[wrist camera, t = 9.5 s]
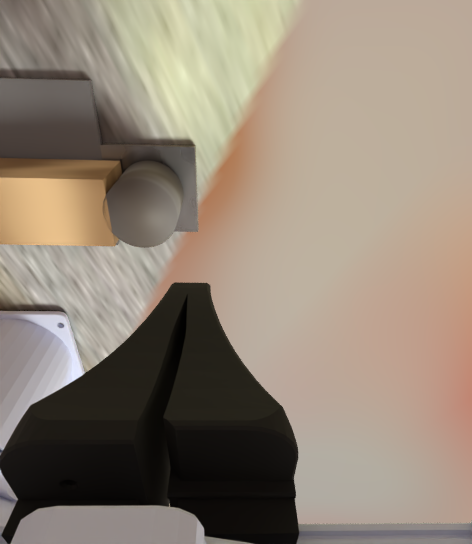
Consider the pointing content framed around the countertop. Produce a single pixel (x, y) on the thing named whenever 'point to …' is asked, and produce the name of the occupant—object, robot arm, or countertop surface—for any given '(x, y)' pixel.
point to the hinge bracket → (173, 157)
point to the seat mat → (48, 119)
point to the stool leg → (87, 202)
